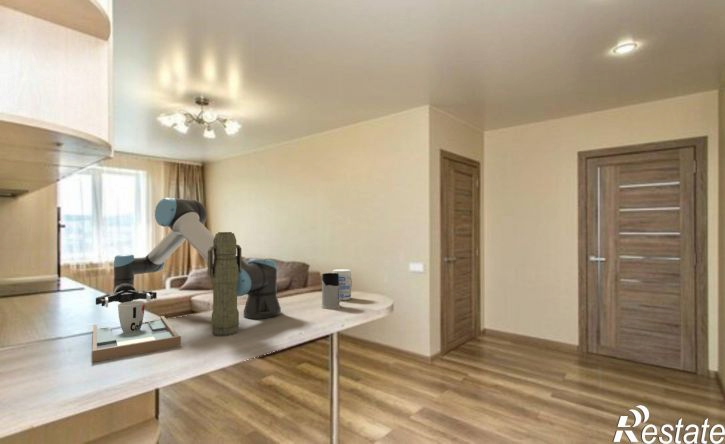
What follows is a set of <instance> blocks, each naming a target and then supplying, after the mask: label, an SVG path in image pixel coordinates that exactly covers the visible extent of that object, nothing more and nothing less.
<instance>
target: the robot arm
mask: <svg viewBox="0 0 725 444" xmlns="http://www.w3.org/2000/svg"><path fill="white" fill-rule="evenodd" d="M154 217H155V218H154V219H155V222H156V223H157V224H158V225H159V226H161V227H164V228H165V227H168V228H170V231H169V232H168V233H167V234H166V235H165V236H164V237H163V238H162V239H161V240H160V242H158V244H156V246H155V247H154V248H152V249H151V251H149V253H148V254H147V255H146V256H145V257H144V256H143V257H135V255H134V254H128V253H127V254H117V255H115V256H114V261H113V287H112V291H113V294H111V293H109V292H107V293H105V294H103V295H100V296H97V297H96V298H95V305H100V304H101V307H105V308H109V303H113V302H114V303H115V302H118V303H119V304H120V303H124V302H131V301H138V300H146V302H147V303H148V304H151V301H152V300H153V299H154V300H156V299H157V294H158V293H157V292H156V291H152V290H151V291H148V290H144V289H142V290H141V291H140V292H139V291H138V290H136V288H135V275H140V274H149V273H156V272H160V271H162V270H163V269H164V266H165V261H166V260H167V259H168V258H169V257H170V256H171V255H172V254H174V252H176V250H177V249H178V248H179V247H181V245H182V244H183V243H184V242H185V241H187V242H188V243H189V245H190V246H192V247H193V248H194V249H195V250H196V251H197V252H198V253H199V255H200V256H201V257H202V258H203V259H204V260H205V261H206V262H207V263H208V249H209V248H210V247H212V246H213V241H214V238H215V235H214V234H213V233H212V232H211V231H210V230H209V229H208V228H207V227H206V226H205V224H206V222H207V218H208V212H207V208H206V206H205V205H204V204H203V203H202V202H200V201H199V200H196V199H185V198H175V197H164V198H162V199H161V200H159V201H158V203H157V204H156V206H155V209H154ZM236 258H237V255H236ZM213 262H214V249H213ZM277 271H278V268H277V262H276V261H275V260H272V259H254V258H253V259H252V258H250V259H248V260H247V262H246V261H245V260H244V259H243V258H242V268H241V273H240V274H239V275H238V283H237V298H239V297H242V296H245V295H247V299H246V302H245V306H244V309H243V317H244V318H247V319H252V320H253V319H254V320H255V319H256V320H257V319H259V320H261V319H268V318H269V319H270V318H274V317H278V316H280V315H281V313H282V307H281V306H280V301H279V299H278V296H277V295H278V293H277V292H278V291H277V281H278V280H277Z"/></svg>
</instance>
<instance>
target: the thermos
mask: <svg viewBox="0 0 725 444" xmlns="http://www.w3.org/2000/svg"><path fill="white" fill-rule="evenodd" d="M214 237H215V238H214V241H213V246H212V247H210V248H209V249H208V262H207V275H208V276H209V277H210V278H211V284H212V287H213V288H212V299H213V301H212V305H213V306H212V307H213V310H212V313H211V328H212V329H211V330H212V332H211V335H213V336H216V337H226V336H227V337H228V336H231V335H232V336H233V335H235V334H237V333H239V323H240V320H239V319H240V316H239V315H240V311H239V309H238V297H237V283H238V275H239V274H240V273H241V268H242V259H243V258H242V247H241V246H240V244H237V238H236V235H235V232H232V231H220V232H219V231H218V232H217V233H215V235H214ZM213 249H214V262H213ZM236 256H237V258H236Z"/></svg>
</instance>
